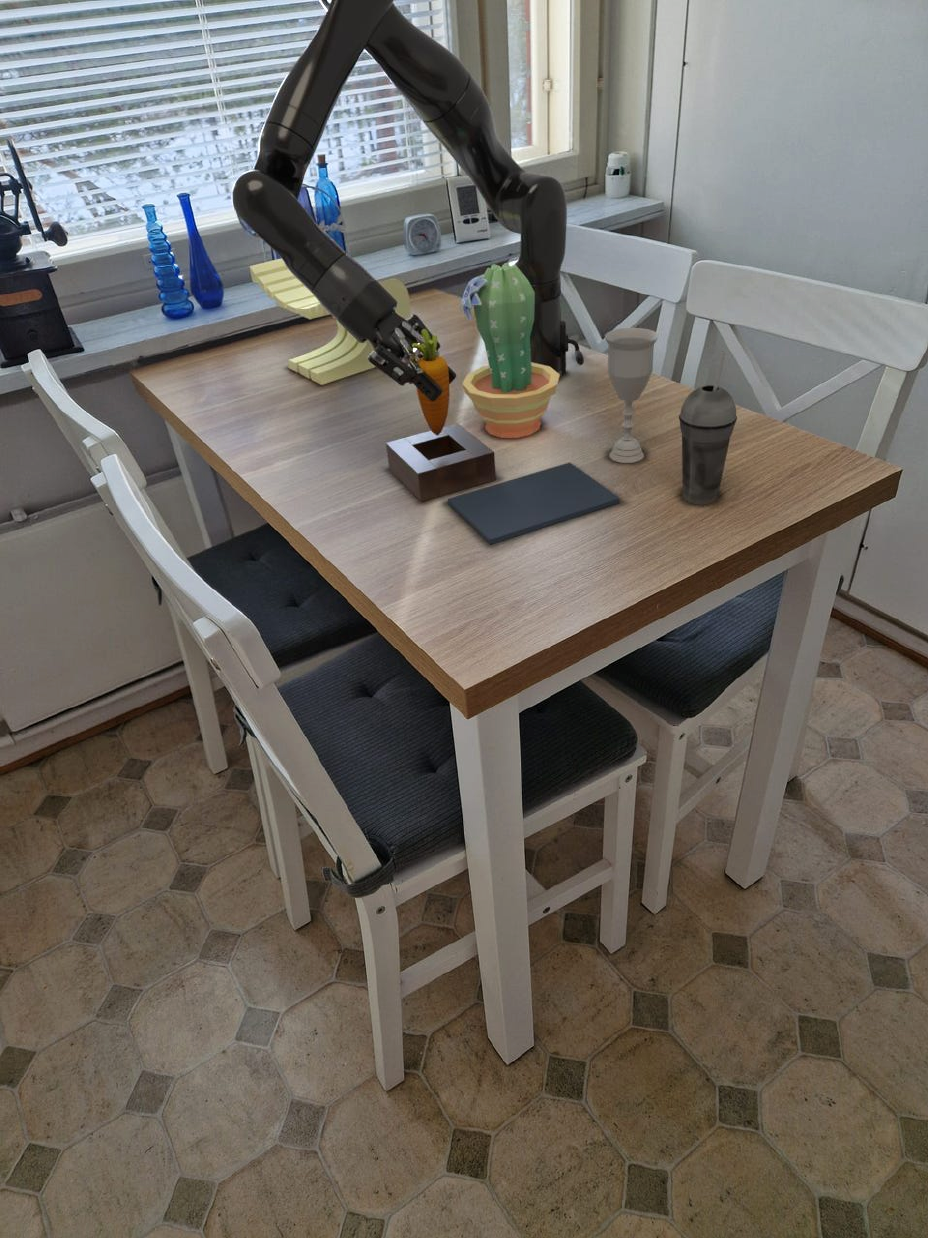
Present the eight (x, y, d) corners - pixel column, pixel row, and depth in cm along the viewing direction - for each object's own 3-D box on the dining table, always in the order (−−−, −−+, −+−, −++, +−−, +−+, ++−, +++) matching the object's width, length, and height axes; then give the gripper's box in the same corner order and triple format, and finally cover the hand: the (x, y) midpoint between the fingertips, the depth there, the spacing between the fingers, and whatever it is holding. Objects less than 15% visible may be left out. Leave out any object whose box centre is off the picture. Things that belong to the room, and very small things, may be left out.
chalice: (655, 447, 133) (662, 328, 123) (647, 467, 128) (654, 345, 118) (607, 443, 136) (610, 326, 125) (597, 463, 131) (599, 343, 120)
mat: (569, 467, 130) (569, 462, 130) (619, 502, 121) (619, 497, 120) (447, 503, 124) (447, 498, 124) (490, 544, 114) (489, 539, 114)
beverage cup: (666, 486, 123) (676, 345, 111) (717, 481, 123) (733, 340, 112) (681, 512, 117) (693, 366, 106) (735, 506, 118) (753, 360, 106)
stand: (460, 450, 138) (458, 423, 135) (496, 480, 129) (494, 451, 126) (389, 470, 134) (385, 442, 131) (421, 502, 125) (417, 473, 122)
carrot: (450, 442, 125) (441, 338, 116) (416, 442, 126) (404, 338, 117) (457, 427, 129) (449, 325, 120) (424, 427, 130) (414, 325, 121)
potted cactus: (489, 402, 152) (480, 250, 137) (574, 413, 146) (574, 254, 131) (449, 439, 141) (434, 278, 126) (539, 452, 135) (534, 284, 120)
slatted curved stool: (417, 372, 166) (406, 274, 155) (344, 396, 159) (328, 296, 148) (336, 336, 186) (321, 248, 175) (268, 357, 179) (249, 266, 168)
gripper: (347, 295, 112) (444, 392, 115) (390, 263, 122) (478, 352, 126) (316, 335, 116) (411, 426, 120) (361, 301, 127) (446, 386, 131)
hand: (445, 388), depth 123 cm, fingers closed on carrot, 5 cm apart
